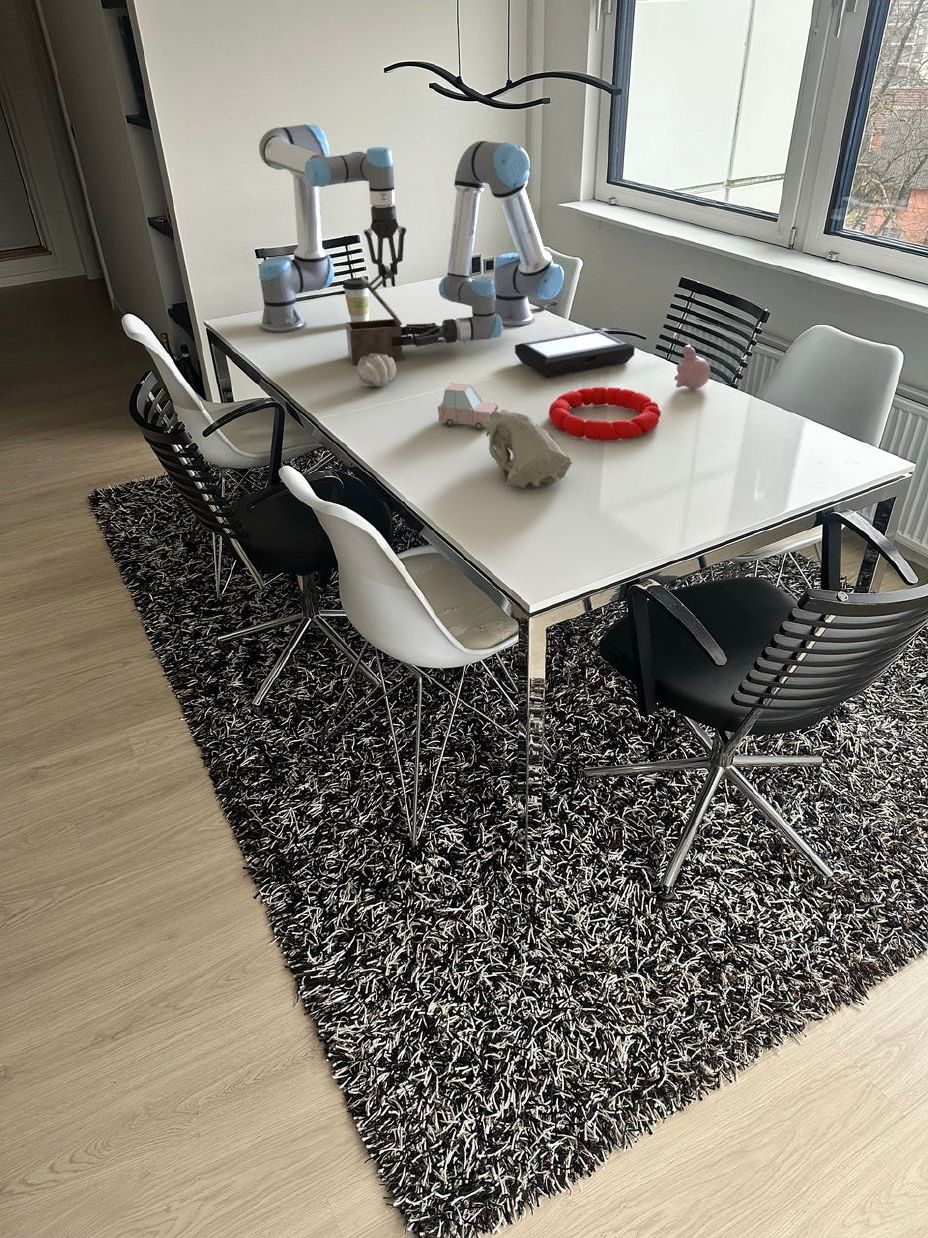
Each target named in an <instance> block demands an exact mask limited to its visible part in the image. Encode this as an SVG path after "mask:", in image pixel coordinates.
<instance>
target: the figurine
mask: <svg viewBox="0 0 928 1238" xmlns="http://www.w3.org/2000/svg"><path fill="white" fill-rule="evenodd" d="M682 354H683V358H684V359H683V361H682V362H679V363H678V364H677V365H676V372H677V375H675V376H674V381H675V382H676V381H677V382H676V384H675V386H676V388H681V387H686V388H688V389H693V390H694V389H695V390H696V389H700V388H703V387H704V386H705V385H706V384H707V383H708V382H709V379H710V377H711V367H710V364H709V362H708V361H706V359H704V358H702V357H700V356H697V353H696V350H695V349H694V347H692V345H690V344H686V345H685V346H684V347H683V348H682Z"/></svg>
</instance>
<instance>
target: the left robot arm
mask: <svg viewBox="0 0 928 1238" xmlns="http://www.w3.org/2000/svg"><path fill="white" fill-rule="evenodd" d="M329 147H330V146H329V143H328V139H327V137H326V135H325V132H324V131H323V130H322V129H321V127H320V126H318V125H316V124H298V125H291V126H290V125H289V126H282V127H279V126H278V127H274V128H271V129H269V130H267V131H266V132H265V133H264V134H263V135H262V137H261V139H260V141H259V145H258V151H259V156H260V158H261V160H262V162H264V164H266V166H268V167H269V168H272V169H273V170H278V171H281V170H286V171H288V172H289V174H291V175H292V178H293V193H294V206H295V207H294V208H295V224H296V238H297V247H296V249H294V250H293V259H291V257H290V256H288V255H279V256H273V257H270V258H266V259H265V260H263V261H261V263H260V265H259V266H258V270H259V271H258V273H259V274H258V275H259V281H260V287H261V292H262V299H263V313H262V319H261V326H262V330H264V331H265V332H271V333H286V332H293V331H296V330H297V331H298V330H300V329H302V328H304V326H305V319H304V317H303V314H302V312H301V310H300V307H299V306H298V305H299V304H298V303H297V295H298V294H303V293H304V294H305V293H309V292H314V291H321V290H323V289H326V288H329V287H330V285H331V284H332V283H333V280H334V277H335V267H334V264H333V260H332V257H331V256H330V255H329V254H327V250H326V249H325V248H324V247H323V237H322V214H321V198H320V197H321V195H320V194H321V193H320V187H321V188H324V187H327V186H334V185H341V184H348V183H349V184H350V183H357V182H368V189H369V204H370V205H371V207H370V214H371V223H370V227H369V228H366V229H364V230H363V234H364V236H365V238H366V242H367V245H368V250H369V256H370V260H371V262H372V264H374V265H377V272H378V275H379V276H381V280H382V279H383V278H385V277H386V275H385V266H386V265H385V263H383V256H384V255H383V251H384V249H383V248H384V239H387V240H388V245H389V251H390V257H391V262H390V263H389V269H390V270H391V271H392V273H393V277H392V278H391V279H390V283H391V287H396V277H395V276H396V275H398V273H399V272H398V264H399V263H400V262H403V260H404V259H403V258H404V246H405V245H404V244H405V243H404V242H405V241H404V240H405V235H406V233H407V228H406V227H405V226H401V225H399V222H398V220H397V210H396V209H397V207H396V205H395V204H396V195H395V178H394V176H395V175H394V161H393V153H392V150H391V149H390V148H389V147H387V146H386V147H385V146H379V147H378V146H376V147H370V148H367V149H366V152H363V151H353V152H352V151H351V152H350V153H348V154H342V155H333V156H332V155H331V156H330V148H329ZM396 232H397V233H398V241H397V253H396V247H395V242H394V241H395V240H394V235H395V234H396ZM373 233H374V234H375V235H376V236H377V258H376V252H375V249H374V243H373V238H372V236H373ZM382 287H383V288H387V279H386V280H385V281H384V282H383V283H382Z"/></svg>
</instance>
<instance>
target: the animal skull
mask: <svg viewBox="0 0 928 1238" xmlns="http://www.w3.org/2000/svg"><path fill="white" fill-rule="evenodd" d="M485 436H486V438H487V437H489V438H488V440H489V444H488V445H489V446H488V450H489V454H490V456H491V457H492V458H493V459H494V460H495V462H496V464H497V466H499V468H500V470H501V471H502V472H501V478H502V479H507V480H506V484H507V486H517V487H518V486H519V488H523V489H524V488H526V486H527V485H529V483H531V485H533V486H534V487H536V488H540V485H541V484H542V482H544V483H549V484H550V485H553V484H555V483H556V482H557V480H561V479H563V478H565V476H566V474H567V472H568V471H569V469H570V467H571V466H572V464H573V462H572V461H571V458H570V457H568V456H567V455H565V453H564V451H562V449H561V448H560V446H559V444H557V443H556V439H555V438H554V436H553V435H551V434H550V433H548V432H547V431H546V430H545V429H544V428H542V427H541V426H539V425H538V424H537V423H536V424H535V422H534V421H533V419H532V418H531V417H530V416H529V415H527V414H524V413H519V412H515V411H509V410H507V409H502V410H500V411H499V410H497V411H496V412H492V413H491V414H490V422H488V423H487V427H486V435H485ZM511 453H512V454H511ZM511 455H512V457H513V458H512V460H511ZM507 474H508V475H507Z"/></svg>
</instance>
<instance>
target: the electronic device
mask: <svg viewBox="0 0 928 1238" xmlns="http://www.w3.org/2000/svg"><path fill="white" fill-rule="evenodd" d="M635 349H636V347H635V346H633V345H632V344H630V343H628V342H625V341H623V340H621V339H619V338H618V337H615V335H611V333H610V334H609V333H608V332H605V330H602V329H597V330H596V329H595V330H590V331H585V332H580V333H574V334H568V335H567V334H566V335H562V336H556V337H551V338H550V337H549V338H546V339H539V340H533V341H528V342H527V341H526V342H521V343H518V344H515V345H514V354H515V355H516V357H517V358H518V360H519V361H520V362H521V363H522V364H524V365H525V366H527V367H528V368H530V369H532V370H533V371H535V372H537V373H538V374H540V375H541V376H543V377H545V378H546V379H548V378H553V377H558V376H559V377H560V376H563V375H569V374H574V373H575V374H576V373H581V372H585V371H592V370H596V369H602V368H607V367H613V366H619V365H624V364H627V363H628V362H629V361H630V360H631V359H632V358H633V357H634V356H635Z"/></svg>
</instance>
